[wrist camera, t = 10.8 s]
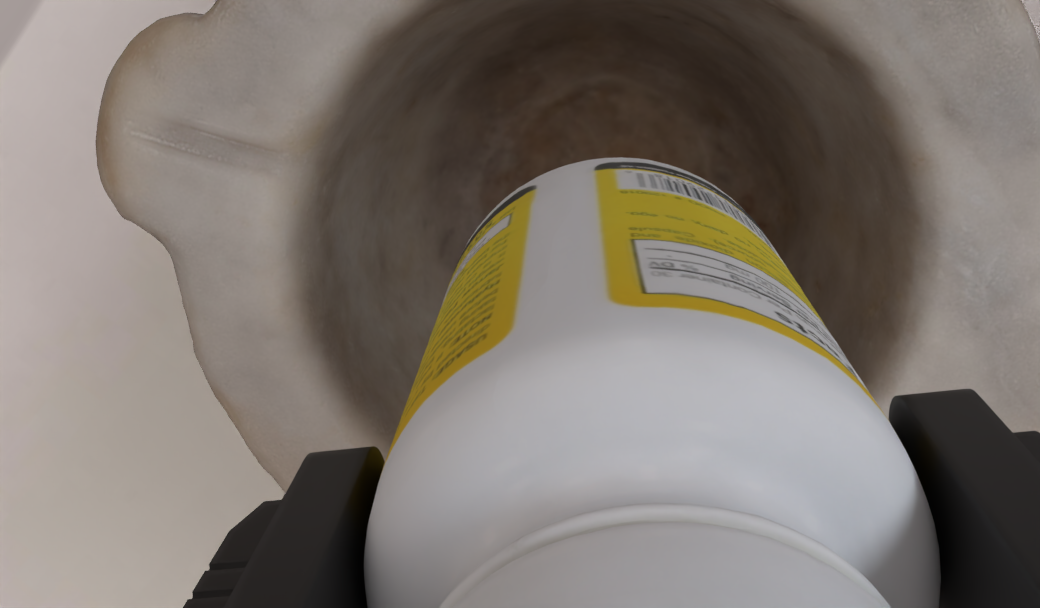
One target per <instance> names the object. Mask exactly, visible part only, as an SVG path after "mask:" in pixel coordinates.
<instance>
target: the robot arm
mask: <svg viewBox="0 0 1040 608" xmlns="http://www.w3.org/2000/svg"><path fill="white" fill-rule="evenodd" d="M889 422H890V424H891V425H892V427H893V429H894V431H895V432H896V434H897V436H898V437H899V439H900V441H901V443H902V445H903V446H904V448H905V450H906V452H907V454H908V456H909V458H910V460H911V462H912V464H913V466H914V468H915V471H916V473H917V475H918V478H919V480H920V483H921V485H922V488H923V490H924V493H925V495H926V498H927V501H928V504H929V507H930V510H931V513H932V517H933V520H934V523H935V528H936V534H937V539H938V544H939V552H940V570H941V584H940V599H939V608H1040V433H1039V432H1037V431H1025V432H1014V433H1013V432H1012V431H1011V430H1010V429H1009V428H1008V427H1007V426H1006V425H1005V424H1004V422H1003V421H1002V420H1001V419H1000V418H999V417H998V416H997V415H996V414H995V412H994V411H993V410H992V409H991V408H990V407H989V406H988V405H987V404H986V402H985V401H984V400H983V399H982V398H981V397H980V396H979V395H978V394H977V393H976V392H975V391H974V390H972V389H958V390H947V391H937V392H927V393H917V394H907V395H897V396H894V397H893V399H892V401H891V403H890V408H889ZM384 464H385V461H384V459H383V456H382V454H381V452H380V450H379V449H378V448H377V447H375V446H371V447H361V448H351V449H341V450H331V451H321V452H312V453H309V454H308V455H307V456H306V457H305V459H304V460H303V462H302V464H301V466H300V468H299V470H298V471H297V473H296V475H295V477H294V479H293V481H292V482H291V484H290V486H289V488H288V490H287V492H286V494H285V495H284V497H283V499H282V500H275V501H265V502H263V503H262V504H261V505H260V506H258V507H257V508H256V509H255V510H254V511H253V512H251V513H250V514H249V515H248V516H247V517H245V518H244V519H243V520H242V521H241V522H240V523H238V524H237V525H236V526H235V527H234V528H232V529H231V530H230V531H229V532H228V534H227V536H226V537H225V539H224V541H223V542H222V544H221V546H220V547H219V549H218V551H217V552H216V554H215V556H214V557H213V559H212V561H211V562H210V564H209V566H210V569H209V571H205V572H204V574H203V575H202V577H201V579H200V580H199V582H198V584H197V585H196V587H195V589H194V590H193V592H192V593H193V598H192V599H188V600H187V602H186V604H185V605H184V607H183V608H368V607H367V600H366V592H365V582H364V550H365V542H366V534H367V526H368V522H369V518H370V514H371V510H372V506H373V502H374V498H375V494H376V490H377V486H378V482H379V479H380V476H381V473H382V470H383V467H384Z"/></svg>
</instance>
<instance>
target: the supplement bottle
mask: <svg viewBox="0 0 1040 608" xmlns="http://www.w3.org/2000/svg"><path fill="white" fill-rule="evenodd" d="M364 582H365V592H366V600H367V607H368V608H939V599H940V584H941V570H940V552H939V544H938V539H937V534H936V528H935V523H934V520H933V517H932V513H931V510H930V507H929V504H928V501H927V498H926V495H925V493H924V490H923V488H922V485H921V483H920V480H919V478H918V475H917V473H916V471H915V468H914V466H913V464H912V462H911V460H910V458H909V456H908V454H907V452H906V450H905V448H904V446H903V445H902V443H901V441H900V439H899V437H898V436H897V434H896V432H895V431H894V429H893V427H892V425H891V424H890V422H889V420H888V419H887V417H886V416H885V414H884V413H883V411H882V410H881V408H880V407H879V405H878V404H877V402H876V401H875V399H874V398H873V397H872V396H871V394H870V393H869V391H868V390H867V388H866V386H865V385H864V383H863V381H862V380H861V379H860V377H859V376H858V374H857V373H856V371H855V370H854V369H853V367H852V366H851V364H850V363H849V361H848V360H847V358H846V356H845V355H844V353H843V352H842V350H841V348H840V347H839V345H838V344H837V342H836V341H835V339H834V338H833V336H832V335H831V333H830V332H829V331H828V329H827V328H826V326H825V324H824V323H823V321H822V319H821V318H820V316H819V315H818V313H817V312H816V311H815V309H814V308H813V306H812V305H811V303H810V302H809V300H808V299H807V297H806V296H805V294H804V292H803V291H802V289H801V287H800V286H799V285H798V283H797V282H796V281H795V279H794V278H793V276H792V274H791V273H790V271H789V270H788V268H787V267H786V265H785V264H784V262H783V261H782V259H781V258H780V256H779V255H778V253H777V252H776V250H775V249H774V247H773V246H772V244H771V243H770V241H769V240H768V239H767V237H766V235H765V234H764V232H763V230H762V229H761V228H760V227H759V226H758V224H757V223H756V222H755V221H754V219H753V218H752V217H751V216H750V215H749V214H747V213H746V212H745V211H744V209H743V208H742V207H740V206H739V205H738V204H737V203H736V202H735V201H734V200H733V199H732V198H731V197H729V196H728V195H727V194H725V193H724V192H723V191H721V190H720V189H719V188H717V187H716V186H715V185H713V184H711V183H710V182H708V181H706V180H704V179H703V178H701V177H698V176H696V175H694V174H692V173H690V172H688V171H685V170H683V169H680V168H677V167H674V166H671V165H668V164H664V163H660V162H656V161H652V160H647V159H639V158H623V157H618V158H600V159H592V160H586V161H581V162H577V163H573V164H569V165H565V166H562V167H559V168H557V169H554V170H551V171H549V172H547V173H544V174H542V175H540V176H538V177H536V178H535V179H533V180H531V181H530V182H528V183H526V184H524V185H523V186H521V187H519V188H518V189H516V190H515V191H514V192H512V193H511V194H510V195H508V196H507V197H506V198H505V199H504V200H503V201H502V202H500V203H499V204H498V205H497V206H496V207H495V208H494V209H493V210H492V211H491V212H490V213H489V214H488V215H487V217H486V218H485V219H484V220H483V221H482V223H481V224H480V225H479V226H478V228H477V229H476V231H475V232H474V233H473V235H472V236H471V238H470V239H469V241H468V243H467V245H466V247H465V249H464V251H463V253H462V255H461V257H460V259H459V261H458V263H457V265H456V267H455V270H454V272H453V274H452V278H451V280H450V282H449V285H448V288H447V291H446V294H445V297H444V299H443V303H442V306H441V309H440V312H439V314H438V317H437V320H436V323H435V325H434V328H433V331H432V334H431V336H430V339H429V342H428V345H427V348H426V350H425V353H424V356H423V358H422V361H421V364H420V367H419V370H418V373H417V376H416V378H415V381H414V384H413V386H412V389H411V392H410V394H409V397H408V400H407V403H406V405H405V408H404V411H403V414H402V416H401V419H400V422H399V425H398V428H397V430H396V433H395V436H394V439H393V441H392V444H391V447H390V450H389V452H388V455H387V458H386V460H385V464H384V467H383V470H382V473H381V476H380V479H379V482H378V486H377V490H376V494H375V498H374V502H373V506H372V510H371V514H370V518H369V522H368V526H367V534H366V542H365V550H364Z"/></svg>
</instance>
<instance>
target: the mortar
mask: <svg viewBox="0 0 1040 608" xmlns="http://www.w3.org/2000/svg"><path fill="white" fill-rule="evenodd" d="M96 154H97V166H98V170H99V174H100V179H101V182H102V185H103V187H104V189H105V191H106V193H107V195H108V196H109V198H110V199H111V201H112V203H113V204H114V206H115V207H116V209H117V211H118V212H119V214H120V215H121V216H122V217H123V218H124V219H126V220H129V221H131V222H133V223H135V224H136V225H138V226H139V227H141V228H142V229H144V230H145V231H147V232H148V233H150V234H151V235H153V236H154V237H155V238H156V239H157V240H159V241H160V242H161V243H162V244H163V245H164V247H165V248H166V249H167V251H168V252H169V254H170V256H171V258H172V261H173V264H174V268H175V272H176V276H177V280H178V285H179V288H180V292H181V296H182V303H183V307H184V309H185V312H186V315H187V319H188V322H189V327H190V333H191V336H192V340H193V347H194V352H195V355H196V358H197V360H198V362H199V364H200V366H201V368H202V370H203V372H204V375H205V377H206V379H207V381H208V383H209V385H210V387H211V389H212V391H213V393H214V395H215V397H216V398H217V400H218V401H219V402H220V404H221V405H222V406H223V408H224V409H225V411H226V412H227V414H228V416H229V418H230V419H231V420H232V422H233V423H234V425H235V426H236V428H237V429H238V431H239V433H240V434H241V436H242V437H243V439H244V441H245V443H246V444H247V446H248V448H249V449H250V451H251V452H252V453H253V455H254V456H255V457H256V459H257V460H258V462H259V463H260V465H261V466H262V467H263V468H264V469H265V470H266V471H267V472H268V473H269V474H270V475H271V476H272V477H273V478H274V479H275V481H276V482H277V483H278V484H279V486H280V487H281V488H282V490H283V491H284V492H285V493H286V492H287V490H288V488H289V486H290V484H291V482H292V481H293V479H294V477H295V475H296V473H297V471H298V470H299V468H300V466H301V464H302V462H303V460H304V459H305V457H306V456H307V455H308V454H309V453H312V452H321V451H331V450H341V449H351V448H361V447H371V446H375V447H377V448H378V449H379V450H380V452H381V454H382V456H383V459H384V461H385V460H386V458H387V455H388V452H389V450H390V447H391V444H392V441H393V439H394V436H395V433H396V430H397V428H398V425H399V422H400V419H401V416H402V414H403V411H404V408H405V405H406V403H407V400H408V397H409V394H410V392H411V389H412V386H413V384H414V381H415V378H416V376H417V373H418V370H419V367H420V364H421V361H422V358H423V356H424V353H425V350H426V348H427V345H428V342H429V339H430V336H431V334H432V331H433V328H434V325H435V323H436V320H437V317H438V314H439V312H440V309H441V306H442V303H443V299H444V297H445V294H446V291H447V288H448V285H449V282H450V280H451V278H452V274H453V272H454V270H455V267H456V265H457V263H458V261H459V259H460V257H461V255H462V253H463V251H464V249H465V247H466V245H467V243H468V241H469V239H470V238H471V236H472V235H473V233H474V232H475V231H476V229H477V228H478V226H479V225H480V224H481V223H482V221H483V220H484V219H485V218H486V217H487V215H488V214H489V213H490V212H491V211H492V210H493V209H494V208H495V207H496V206H497V205H498V204H499V203H500V202H502V201H503V200H504V199H505V198H506V197H507V196H508V195H510V194H511V193H512V192H514V191H515V190H516V189H518V188H519V187H521V186H523V185H524V184H526V183H528V182H530V181H531V180H533V179H535V178H536V177H538V176H540V175H542V174H544V173H547V172H549V171H551V170H554V169H557V168H559V167H562V166H565V165H569V164H573V163H577V162H581V161H586V160H592V159H600V158H618V157H623V158H639V159H647V160H652V161H656V162H660V163H664V164H668V165H671V166H674V167H677V168H680V169H683V170H685V171H688V172H690V173H692V174H694V175H696V176H698V177H701V178H703V179H704V180H706V181H708V182H710V183H711V184H713V185H715V186H716V187H717V188H719V189H720V190H721V191H723V192H724V193H725V194H727V195H728V196H729V197H731V198H732V199H733V200H734V201H735V202H736V203H737V204H738V205H739V206H740V207H742V208H743V209H744V211H745V212H746V213H747V214H749V215H750V216H751V217H752V218H753V219H754V221H755V222H756V223H757V224H758V226H759V227H760V228H761V229H762V230H763V232H764V234H765V235H766V237H767V239H768V240H769V241H770V243H771V244H772V246H773V247H774V249H775V250H776V252H777V253H778V255H779V256H780V258H781V259H782V261H783V262H784V264H785V265H786V267H787V268H788V270H789V271H790V273H791V274H792V276H793V278H794V279H795V281H796V282H797V283H798V285H799V286H800V287H801V289H802V291H803V292H804V294H805V296H806V297H807V299H808V300H809V302H810V303H811V305H812V306H813V308H814V309H815V311H816V312H817V313H818V315H819V316H820V318H821V319H822V321H823V323H824V324H825V326H826V328H827V329H828V331H829V332H830V333H831V335H832V336H833V338H834V339H835V341H836V342H837V344H838V345H839V347H840V348H841V350H842V352H843V353H844V355H845V356H846V358H847V360H848V361H849V363H850V364H851V366H852V367H853V369H854V370H855V371H856V373H857V374H858V376H859V377H860V379H861V380H862V381H863V383H864V385H865V386H866V388H867V390H868V391H869V393H870V394H871V396H872V397H873V398H874V399H875V401H876V402H877V404H878V405H879V407H880V408H881V410H882V411H883V413H884V414H885V416H886V417H887V419H888V420H889V408H890V403H891V401H892V399H893V397H894V396H897V395H907V394H917V393H927V392H937V391H947V390H958V389H972V390H974V391H975V392H976V393H977V394H978V395H979V396H980V397H981V398H982V399H983V400H984V401H985V402H986V404H987V405H988V406H989V407H990V408H991V409H992V410H993V411H994V412H995V414H996V415H997V416H998V417H999V418H1000V419H1001V420H1002V421H1003V422H1004V424H1005V425H1006V426H1007V427H1008V428H1009V429H1010V430H1011V431H1012V432H1013V433H1014V432H1025V431H1037V432H1039V433H1040V43H1039V40H1038V37H1037V34H1036V31H1035V29H1034V26H1033V24H1032V22H1031V20H1030V18H1029V15H1028V12H1027V11H1026V9H1025V7H1024V5H1023V4H1022V2H1021V0H217V1H216V3H215V4H214V6H213V7H212V8H211V9H210V10H209V11H208V12H207V13H206V14H197V13H183V14H178V15H173V16H169V17H165V18H161V19H159V20H157V21H156V22H154V23H153V24H152V25H150V26H149V27H147V28H146V29H144V30H143V31H141V32H140V33H139V34H138V35H137V36H135V37H134V38H133V39H132V40H131V41H130V43H129V44H128V46H127V47H126V49H125V50H124V52H123V53H122V55H121V56H120V57H119V59H118V60H117V62H116V64H115V65H114V67H113V69H112V70H111V72H110V74H109V77H108V79H107V81H106V85H105V88H104V92H103V96H102V100H101V106H100V111H99V117H98V124H97V134H96Z"/></svg>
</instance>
